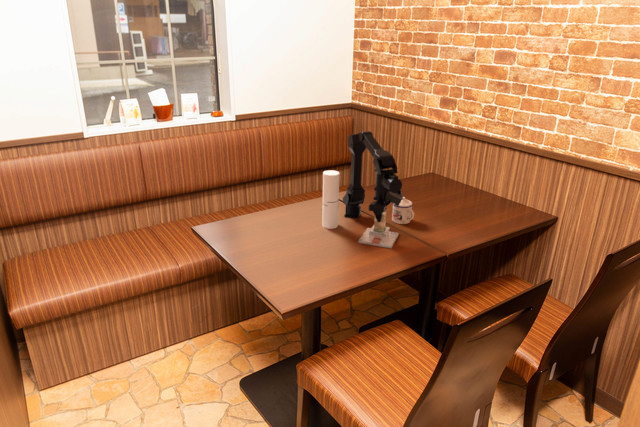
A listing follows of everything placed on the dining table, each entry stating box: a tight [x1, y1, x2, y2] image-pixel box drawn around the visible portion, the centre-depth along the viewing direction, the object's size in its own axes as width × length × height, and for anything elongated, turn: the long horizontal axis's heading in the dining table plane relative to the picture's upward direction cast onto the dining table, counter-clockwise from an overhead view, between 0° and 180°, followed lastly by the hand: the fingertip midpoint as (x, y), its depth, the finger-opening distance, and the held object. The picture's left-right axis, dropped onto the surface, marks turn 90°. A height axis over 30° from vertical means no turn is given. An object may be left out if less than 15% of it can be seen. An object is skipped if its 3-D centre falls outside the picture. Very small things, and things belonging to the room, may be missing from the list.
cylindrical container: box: [321, 169, 341, 230], centre depth 205 cm, size 7×7×25 cm
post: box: [373, 210, 388, 232], centre depth 195 cm, size 4×4×8 cm
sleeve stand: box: [358, 224, 399, 249], centre depth 197 cm, size 14×14×4 cm
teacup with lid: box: [391, 196, 415, 225], centre depth 213 cm, size 12×9×12 cm
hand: (380, 219), depth 195 cm, fingers closed on post, 4 cm apart
